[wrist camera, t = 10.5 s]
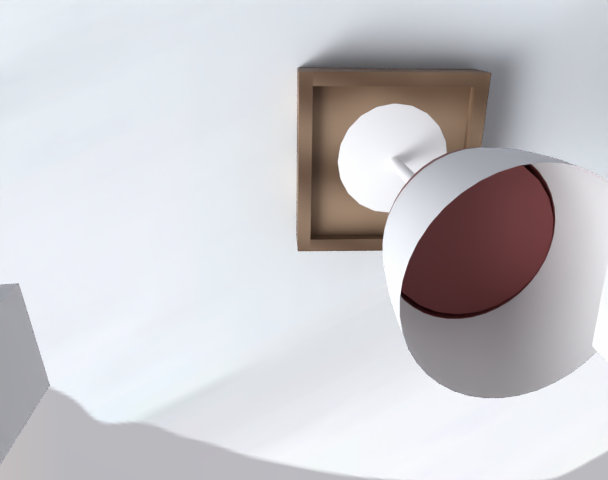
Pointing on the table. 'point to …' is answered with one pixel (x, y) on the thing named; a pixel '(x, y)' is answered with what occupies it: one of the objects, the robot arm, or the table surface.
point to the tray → (343, 114)
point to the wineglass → (482, 252)
